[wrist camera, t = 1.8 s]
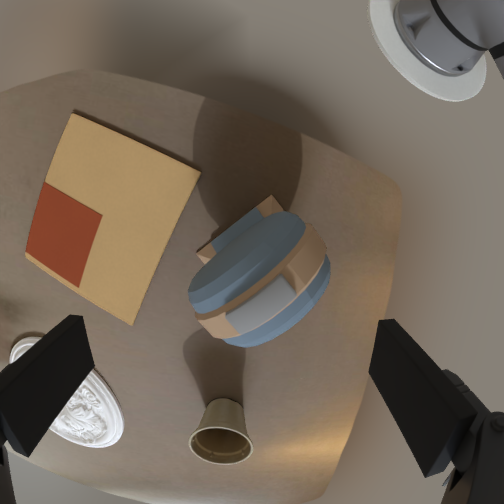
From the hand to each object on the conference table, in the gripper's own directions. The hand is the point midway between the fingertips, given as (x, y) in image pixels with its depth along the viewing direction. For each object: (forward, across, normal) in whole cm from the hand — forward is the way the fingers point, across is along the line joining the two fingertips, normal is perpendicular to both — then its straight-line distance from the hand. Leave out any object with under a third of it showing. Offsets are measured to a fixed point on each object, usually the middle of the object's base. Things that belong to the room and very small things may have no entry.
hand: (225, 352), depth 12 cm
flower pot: (+28, -3, -29) cm, 40 cm away
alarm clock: (+28, +2, -2) cm, 28 cm away
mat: (+27, -20, +3) cm, 34 cm away
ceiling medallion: (+28, -37, -32) cm, 56 cm away
